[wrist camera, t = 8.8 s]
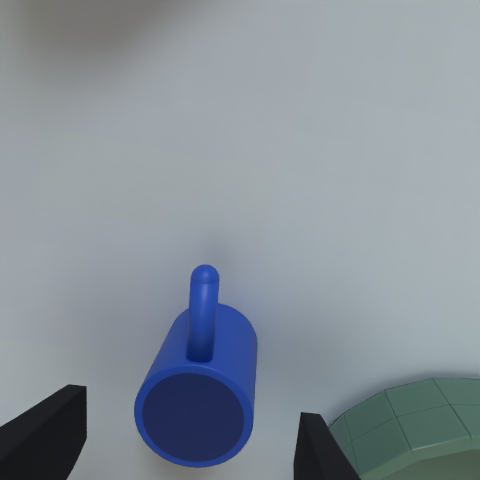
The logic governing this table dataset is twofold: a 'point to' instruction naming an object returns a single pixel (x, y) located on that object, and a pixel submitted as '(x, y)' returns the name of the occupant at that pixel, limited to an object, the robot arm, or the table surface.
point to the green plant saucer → (415, 432)
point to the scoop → (201, 382)
